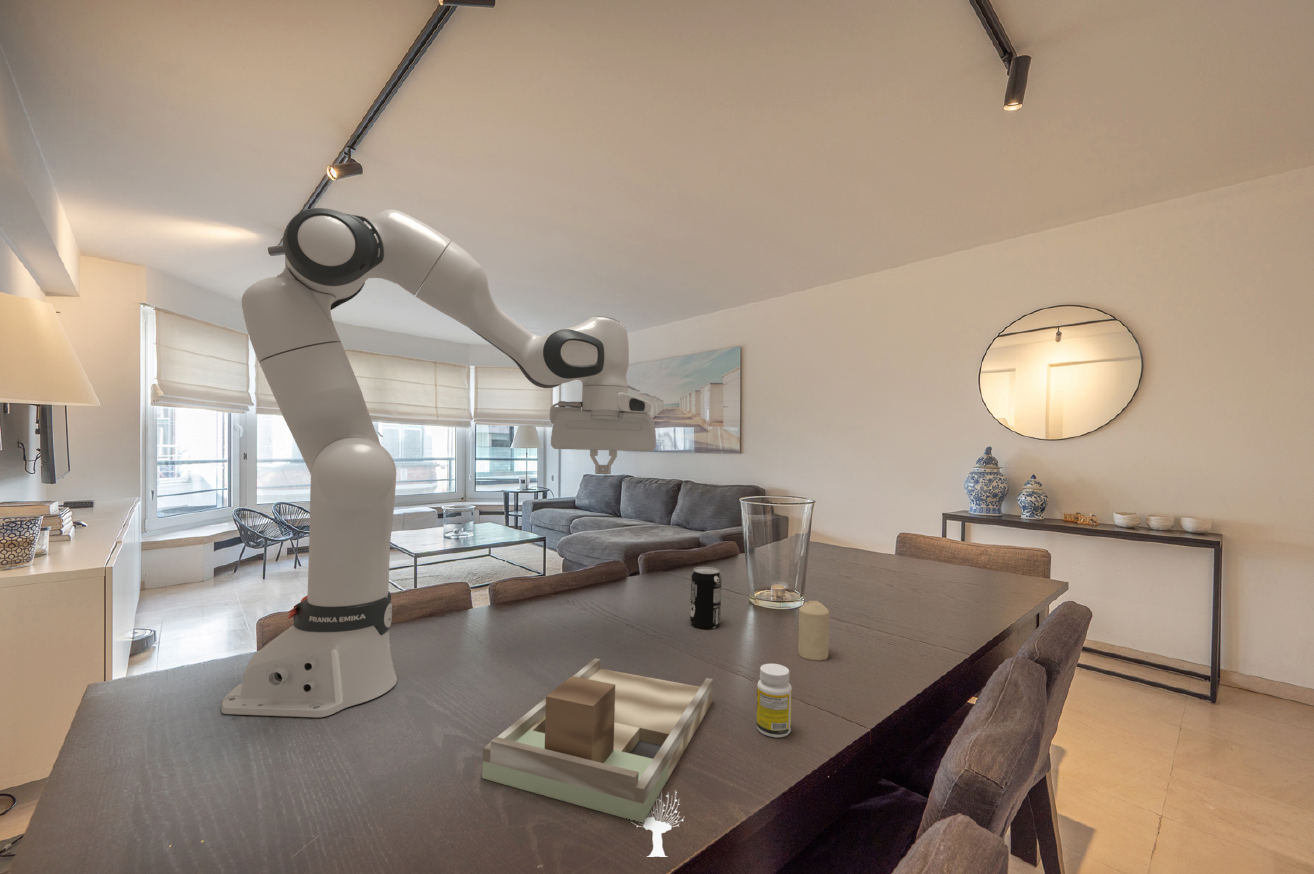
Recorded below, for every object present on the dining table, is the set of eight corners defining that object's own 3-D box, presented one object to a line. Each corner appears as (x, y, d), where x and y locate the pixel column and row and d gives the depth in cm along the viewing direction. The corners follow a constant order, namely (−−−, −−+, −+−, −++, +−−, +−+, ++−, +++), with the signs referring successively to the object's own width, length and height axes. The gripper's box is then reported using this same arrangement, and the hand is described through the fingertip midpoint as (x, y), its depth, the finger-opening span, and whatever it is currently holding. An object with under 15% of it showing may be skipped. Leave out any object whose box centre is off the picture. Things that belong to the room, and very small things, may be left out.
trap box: (594, 679, 91) (595, 652, 91) (712, 702, 84) (712, 672, 84) (482, 778, 64) (483, 739, 64) (642, 823, 57) (643, 779, 57)
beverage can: (685, 621, 123) (687, 567, 123) (713, 619, 125) (714, 565, 125) (696, 630, 116) (698, 574, 116) (725, 628, 118) (726, 572, 118)
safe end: (521, 743, 71) (522, 727, 72) (667, 779, 65) (668, 762, 65) (482, 778, 64) (482, 760, 64) (642, 823, 57) (643, 803, 57)
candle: (829, 662, 101) (831, 607, 101) (798, 659, 102) (800, 605, 102) (826, 651, 107) (827, 599, 107) (797, 648, 108) (798, 597, 108)
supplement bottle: (766, 717, 80) (767, 659, 80) (796, 728, 77) (798, 668, 77) (749, 730, 76) (751, 669, 76) (781, 742, 73) (782, 679, 74)
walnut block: (569, 740, 69) (571, 675, 69) (613, 750, 67) (615, 684, 67) (544, 766, 63) (546, 696, 63) (591, 778, 61) (593, 706, 61)
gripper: (549, 399, 102) (547, 474, 102) (658, 403, 106) (656, 475, 105) (550, 401, 108) (548, 472, 108) (653, 405, 112) (651, 474, 112)
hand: (602, 474), depth 107 cm, fingers closed
